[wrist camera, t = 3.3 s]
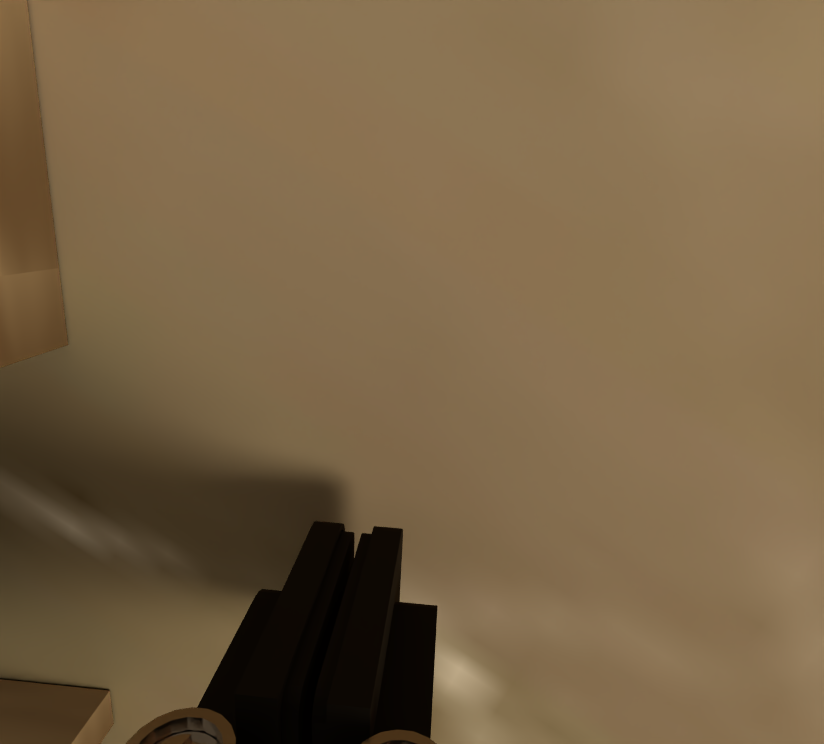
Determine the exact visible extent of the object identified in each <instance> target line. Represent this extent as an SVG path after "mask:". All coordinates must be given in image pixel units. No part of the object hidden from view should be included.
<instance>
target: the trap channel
mask: <svg viewBox="0 0 824 744" xmlns="http://www.w3.org/2000/svg"><path fill="white" fill-rule="evenodd" d="M66 345H68V339H67V331H66V323H65V314H64V306H63V298H62V289H61V281H60V273H59V264H58V256H57V248H56V239H55V231H54V223H53V214H52V206H51V198H50V189H49V181H48V173H47V164H46V156H45V148H44V139H43V131H42V123H41V114H40V106H39V98H38V89H37V81H36V73H35V64H34V56H33V48H32V39H31V31H30V23H29V14H28V6H27V0H0V368H1V367H4V366H7V365H10V364H13V363H16V362H19V361H22V360H25V359H28V358H30V357H33V356H36V355H39V354H42V353H45V352H48V351H51V350H54V349H57V348H60V347H63V346H66ZM113 724H114V723H113V714H112V706H111V698H110V691H108V690H98V689H89V688H79V687H69V686H60V685H50V684H40V683H31V682H21V681H12V680H2V679H0V744H100V743H101V742H102V740H103V739H104V737H105V736H106V734H107V733H108V731H109V730H110V728H111V727H112V725H113Z"/></svg>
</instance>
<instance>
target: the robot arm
mask: <svg viewBox="0 0 824 744" xmlns="http://www.w3.org/2000/svg"><path fill="white" fill-rule="evenodd" d="M402 541H403V529H399V528H388V527H376V526H374V528H373V531H372V534H366V533H362V535H361V538H360V541H359V544H358V548H357V551H356V554H355V558H354V533H353V532H345V528H344V524H342V523H330V522H319V521H315V522H314V523H313V525H312V527H311V529H310V531H309V533H308V535H307V538H306V540H305V542H304V544H303V546H302V548H301V551H300V553H299V555H298V557H297V559H296V561H295V564H294V566H293V568H292V570H291V572H290V574H289V577H288V579H287V581H286V583H285V585H284V587H283V590H282V591H277V590H266V589H262V590H260V591H259V592H258V593H257V595H256V596H255V598H254V600H253V602H252V604H251V606H250V608H249V609H248V611H247V613H246V615H245V617H244V619H243V621H242V623H241V625H240V627H239V629H238V630H237V632H236V634H235V636H234V638H233V640H232V642H231V644H230V646H229V648H228V650H227V651H226V653H225V655H224V657H223V659H222V661H221V663H220V665H219V667H218V669H217V671H216V673H215V674H214V676H213V678H212V680H211V682H210V684H209V686H208V688H207V690H206V692H205V694H204V695H203V697H202V699H201V701H200V703H199V705H198V707H197V708H195V707H191V708H185V709H179V710H174V711H172V712H169V713H167V714H164V715H161V716H159V717H157V718H155V719H154V720H152V721H151V722H149V723H148V724H146V725H145V726H143V727H142V728H140V729H139V730H138V731H137V732H136V733H135V734H134V735H133V736H132V737H131V738H130V739H129V740H128V741H127V743H126V744H436V743H435V742H434V741H432V740H431V739H430V735H431V716H432V697H433V678H434V659H435V640H436V621H437V606H435V605H424V604H414V603H403V602H399V599H400V580H401V561H402Z"/></svg>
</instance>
